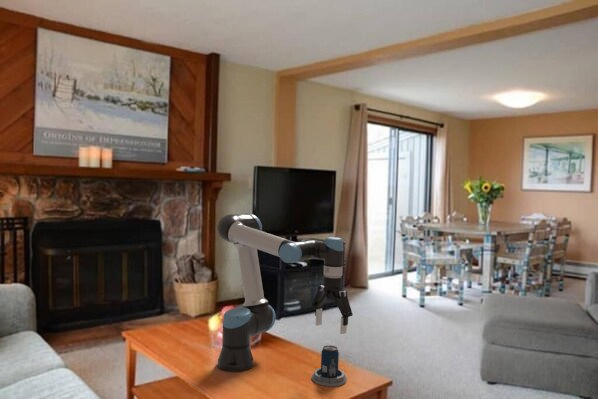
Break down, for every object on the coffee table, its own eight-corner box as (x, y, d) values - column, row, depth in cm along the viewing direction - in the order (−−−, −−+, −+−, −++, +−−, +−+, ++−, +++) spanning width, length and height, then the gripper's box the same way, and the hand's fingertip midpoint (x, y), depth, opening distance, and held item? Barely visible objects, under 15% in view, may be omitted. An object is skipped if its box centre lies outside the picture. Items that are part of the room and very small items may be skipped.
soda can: (327, 372, 197) (328, 343, 196) (341, 377, 192) (342, 347, 192) (317, 377, 191) (318, 347, 191) (331, 382, 187) (332, 352, 187)
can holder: (304, 378, 192) (304, 371, 192) (328, 369, 202) (328, 363, 202) (329, 389, 182) (329, 383, 182) (353, 380, 192) (354, 374, 191)
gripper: (304, 272, 197) (302, 323, 198) (350, 282, 179) (347, 338, 180) (317, 270, 202) (315, 320, 203) (363, 280, 184) (360, 335, 185)
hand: (330, 329), depth 191 cm, fingers open, 13 cm apart
